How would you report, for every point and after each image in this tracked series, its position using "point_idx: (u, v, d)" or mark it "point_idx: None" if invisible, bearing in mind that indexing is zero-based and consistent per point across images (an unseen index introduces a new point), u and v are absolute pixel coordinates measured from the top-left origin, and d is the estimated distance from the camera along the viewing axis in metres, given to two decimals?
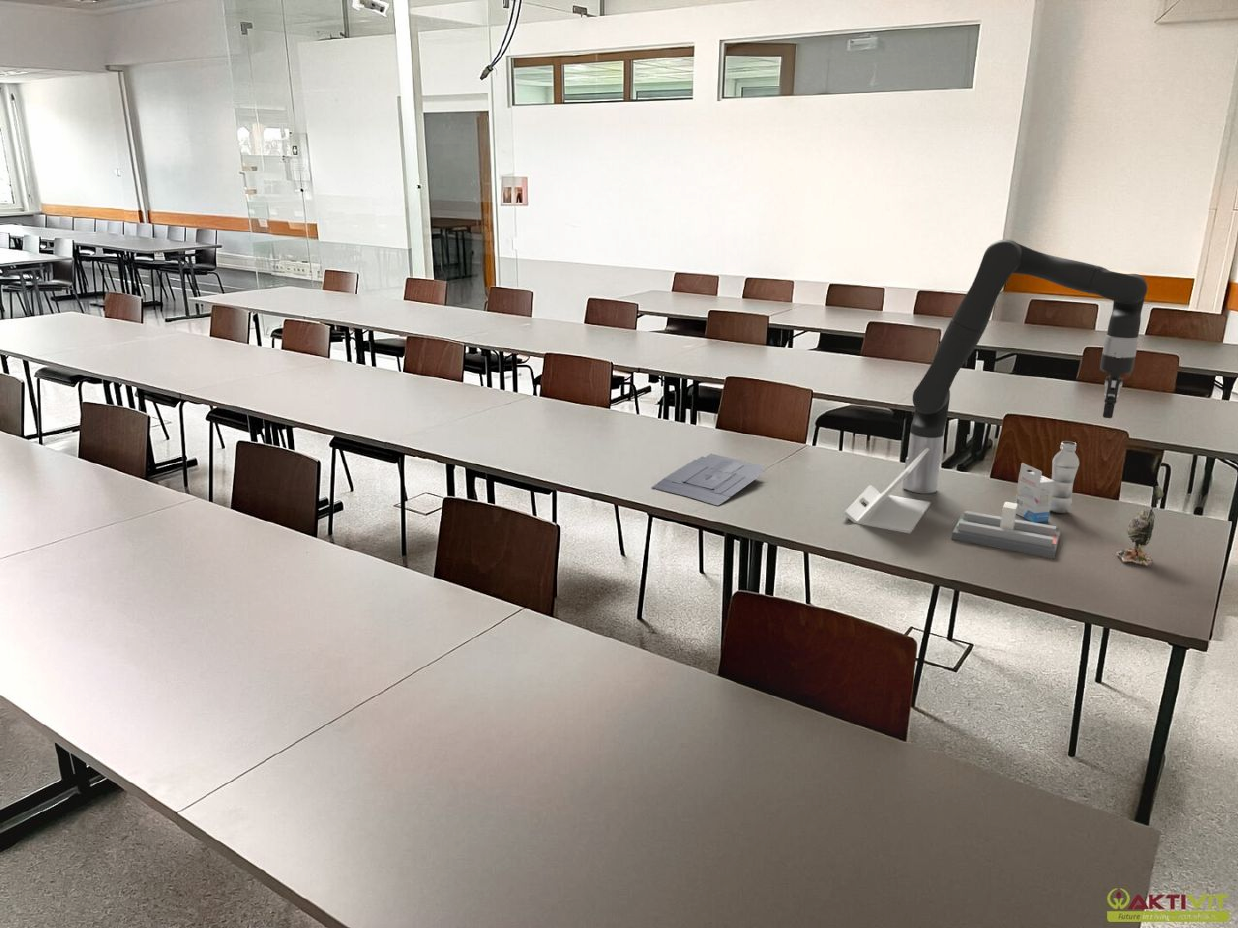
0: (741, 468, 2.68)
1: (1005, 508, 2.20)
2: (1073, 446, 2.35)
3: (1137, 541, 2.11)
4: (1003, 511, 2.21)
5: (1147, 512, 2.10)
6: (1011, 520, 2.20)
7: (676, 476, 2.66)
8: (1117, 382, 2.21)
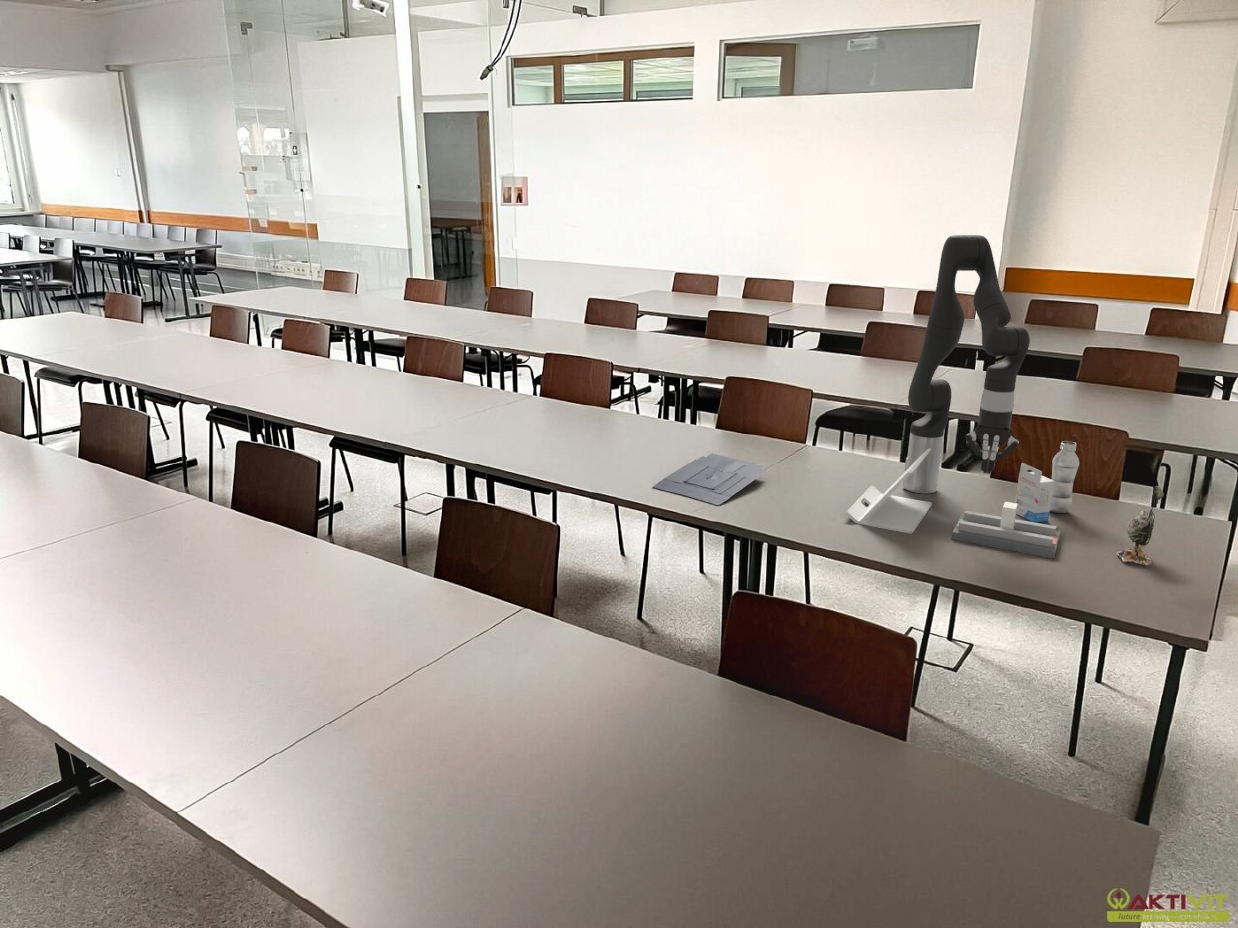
0: (742, 468, 2.68)
1: (1005, 508, 2.20)
2: (1073, 446, 2.35)
3: (1137, 541, 2.11)
4: (1003, 511, 2.21)
5: (1147, 512, 2.10)
6: (1011, 520, 2.20)
7: (677, 476, 2.66)
8: None
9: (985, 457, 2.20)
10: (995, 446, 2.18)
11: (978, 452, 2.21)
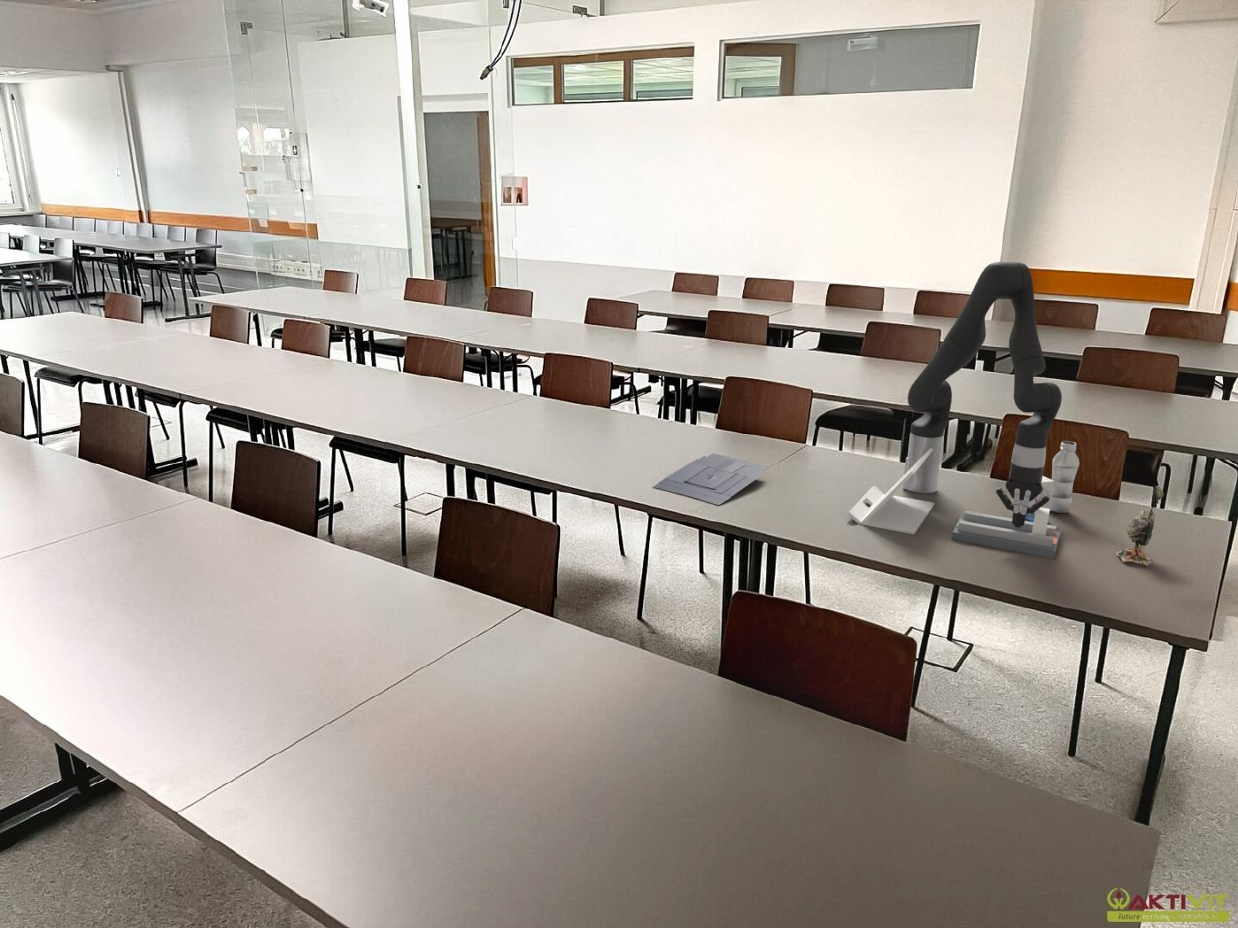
0: (743, 468, 2.68)
1: (1037, 513, 2.17)
2: (1073, 446, 2.35)
3: (1137, 541, 2.11)
4: (1035, 517, 2.17)
5: (1147, 512, 2.10)
6: (1043, 526, 2.17)
7: (678, 476, 2.66)
8: None
9: (1016, 511, 2.20)
10: (1026, 501, 2.17)
11: (1009, 506, 2.20)
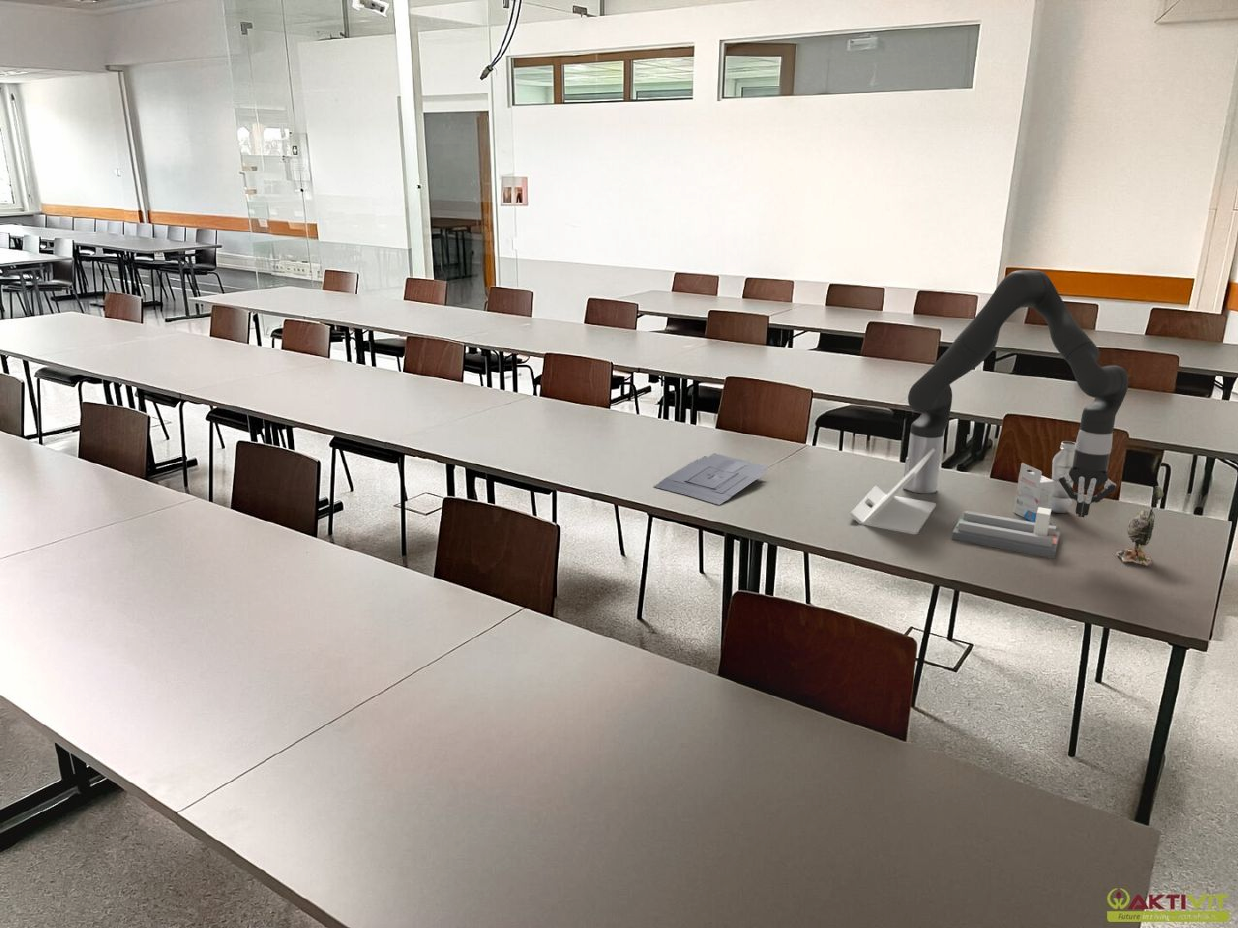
0: (743, 468, 2.68)
1: (1039, 514, 2.16)
2: (1073, 446, 2.35)
3: (1137, 541, 2.11)
4: (1037, 517, 2.17)
5: (1147, 512, 2.10)
6: (1044, 526, 2.17)
7: (678, 475, 2.67)
8: None
9: (1080, 500, 2.12)
10: (1091, 489, 2.09)
11: (1073, 495, 2.12)
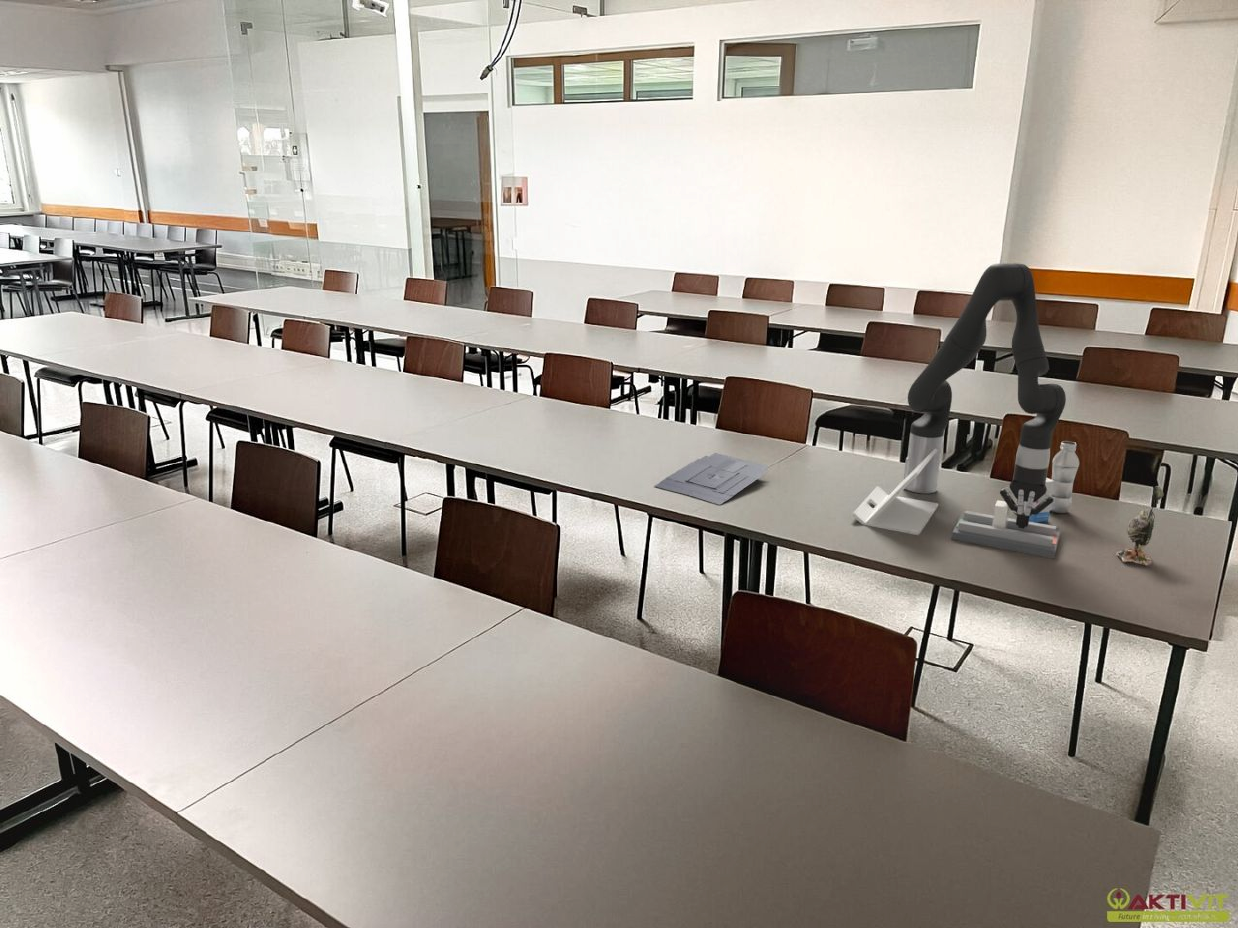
0: (744, 467, 2.69)
1: (997, 507, 2.21)
2: (1073, 446, 2.35)
3: (1137, 541, 2.11)
4: (995, 510, 2.21)
5: (1147, 512, 2.10)
6: (1003, 519, 2.21)
7: (679, 475, 2.67)
8: None
9: (1020, 512, 2.20)
10: (1030, 502, 2.17)
11: (1013, 507, 2.20)
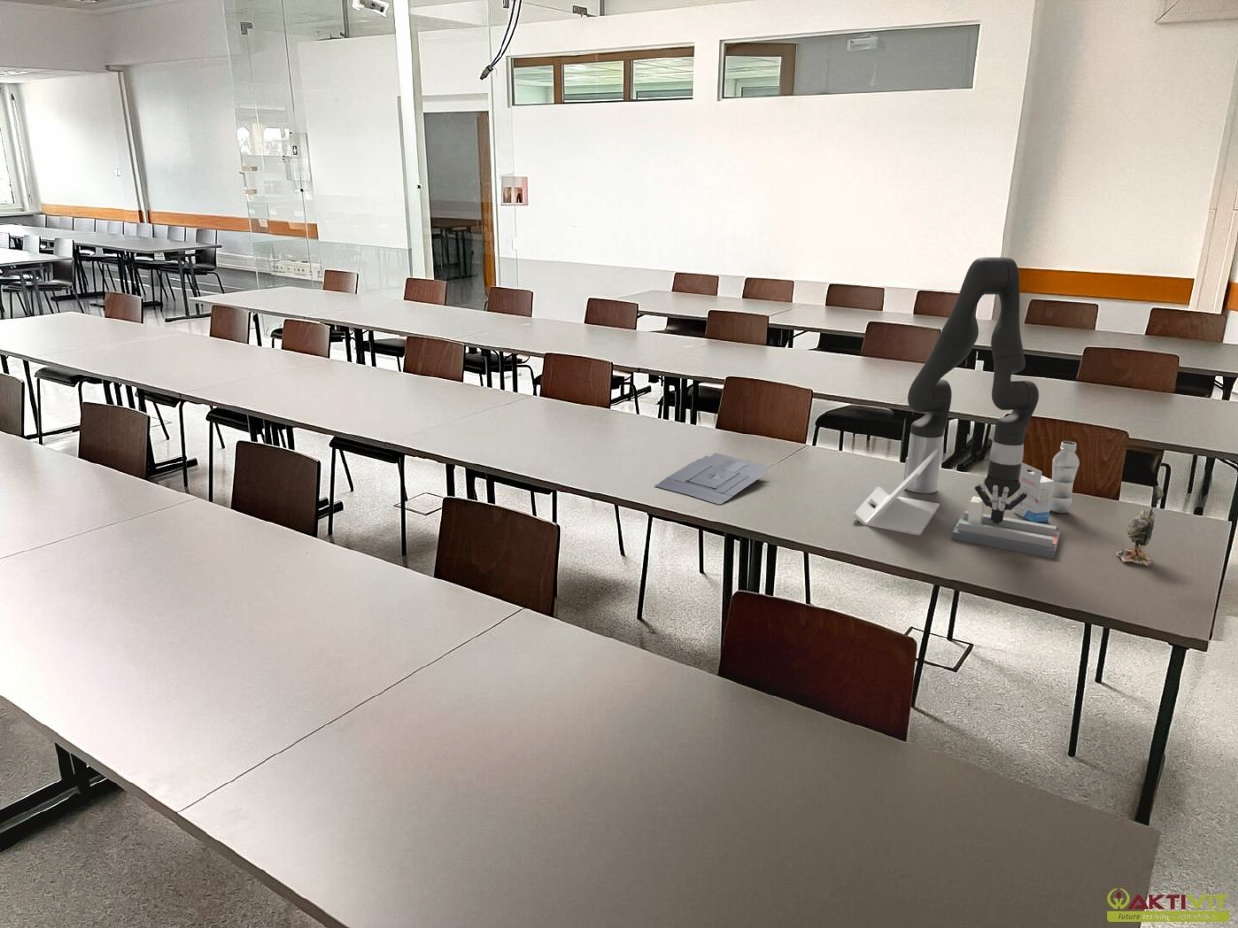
0: (745, 467, 2.69)
1: (972, 503, 2.24)
2: (1073, 446, 2.35)
3: (1137, 541, 2.11)
4: (971, 505, 2.24)
5: (1147, 512, 2.10)
6: (978, 514, 2.24)
7: (680, 475, 2.67)
8: (1027, 494, 2.20)
9: (995, 508, 2.22)
10: (1004, 497, 2.20)
11: (988, 503, 2.23)
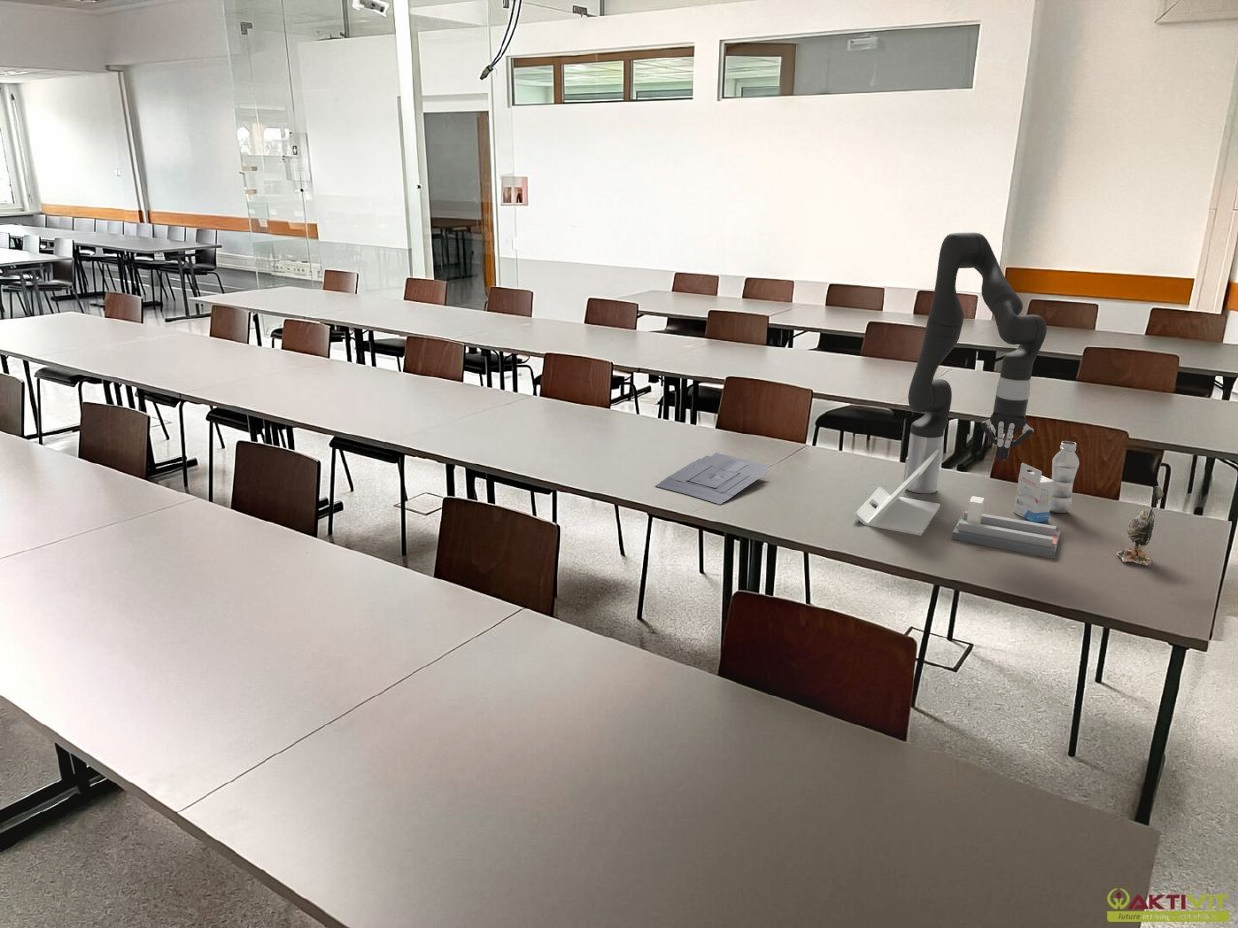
0: (745, 467, 2.69)
1: (971, 502, 2.24)
2: (1073, 446, 2.35)
3: (1137, 541, 2.11)
4: (970, 505, 2.24)
5: (1147, 512, 2.10)
6: (977, 514, 2.24)
7: (680, 475, 2.67)
8: None
9: (1000, 445, 2.21)
10: (1010, 434, 2.19)
11: (993, 440, 2.22)
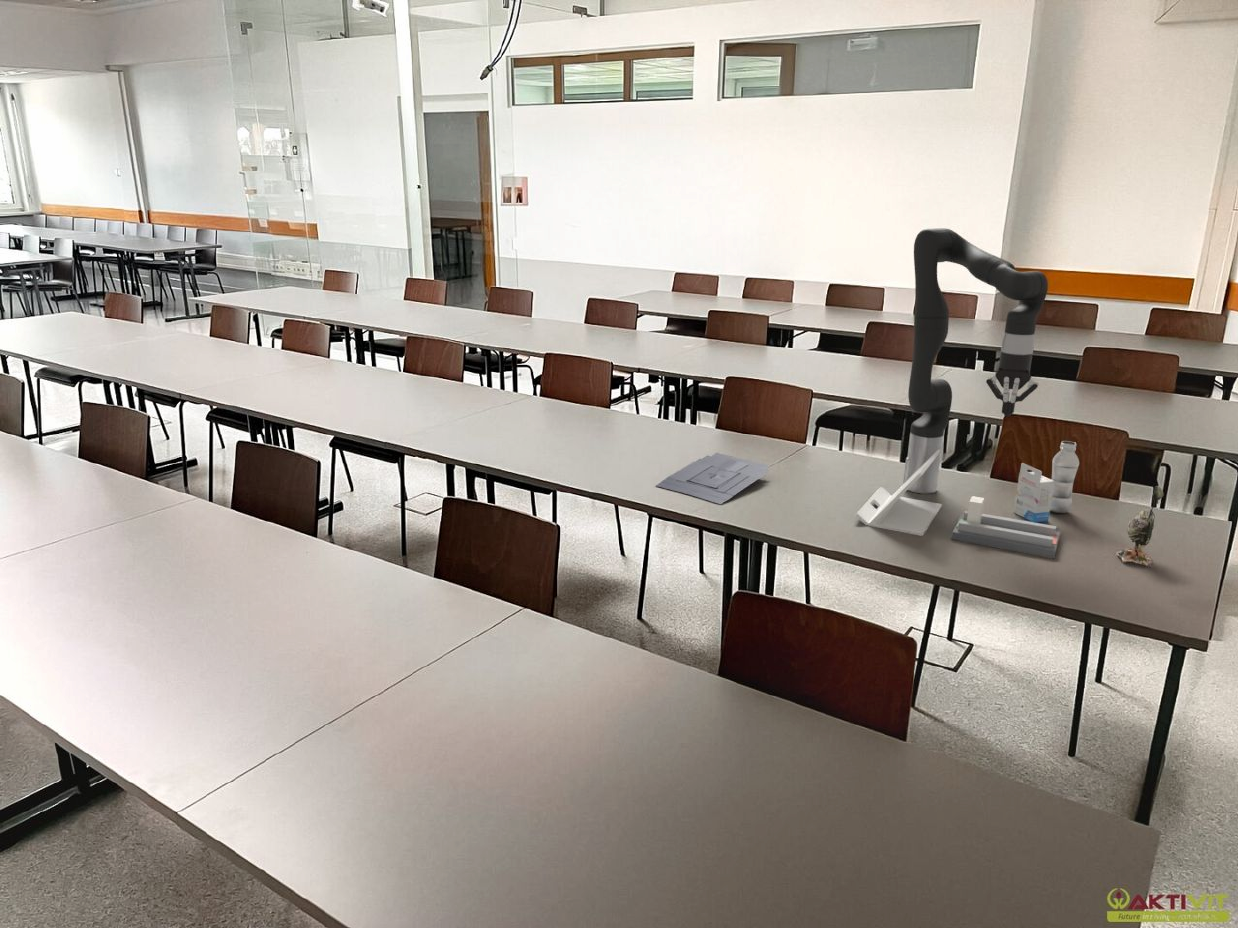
0: (746, 467, 2.69)
1: (971, 502, 2.24)
2: (1073, 446, 2.35)
3: (1138, 541, 2.11)
4: (970, 505, 2.24)
5: (1147, 512, 2.10)
6: (977, 514, 2.24)
7: (680, 475, 2.67)
8: None
9: (1006, 400, 2.27)
10: (1015, 389, 2.25)
11: (999, 395, 2.28)
